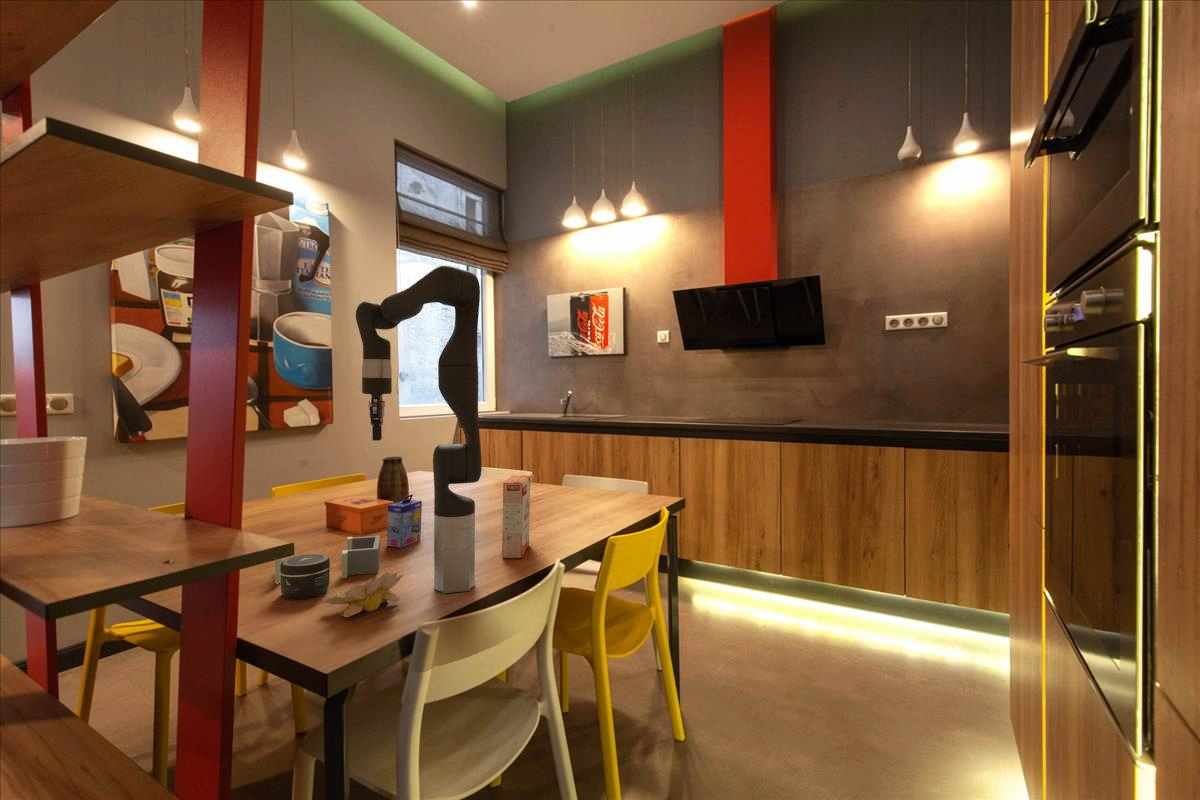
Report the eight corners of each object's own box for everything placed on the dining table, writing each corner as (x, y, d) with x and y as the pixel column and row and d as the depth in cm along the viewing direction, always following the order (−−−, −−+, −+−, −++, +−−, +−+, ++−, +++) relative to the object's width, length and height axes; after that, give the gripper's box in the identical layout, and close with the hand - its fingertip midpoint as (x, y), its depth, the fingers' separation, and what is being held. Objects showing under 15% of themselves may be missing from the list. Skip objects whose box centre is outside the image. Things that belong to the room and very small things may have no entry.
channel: (377, 574, 139) (377, 550, 139) (275, 584, 132) (275, 559, 132) (380, 556, 155) (380, 534, 154) (288, 564, 147) (288, 541, 147)
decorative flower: (384, 582, 129) (387, 542, 127) (412, 605, 122) (416, 564, 120) (317, 606, 117) (319, 563, 115) (345, 633, 111) (347, 588, 108)
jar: (269, 599, 123) (268, 564, 123) (302, 583, 133) (302, 551, 133) (308, 603, 121) (308, 567, 121) (339, 587, 131) (339, 554, 131)
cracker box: (523, 559, 153) (523, 482, 152) (501, 559, 153) (501, 482, 152) (530, 545, 167) (531, 474, 166) (510, 544, 167) (510, 474, 166)
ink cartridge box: (402, 548, 162) (402, 498, 162) (386, 546, 164) (385, 497, 164) (422, 539, 172) (422, 492, 172) (407, 538, 173) (407, 491, 173)
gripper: (389, 376, 148) (389, 442, 148) (393, 377, 161) (393, 437, 161) (358, 375, 146) (359, 442, 146) (364, 376, 158) (365, 438, 159)
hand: (377, 440), depth 154 cm, fingers closed
